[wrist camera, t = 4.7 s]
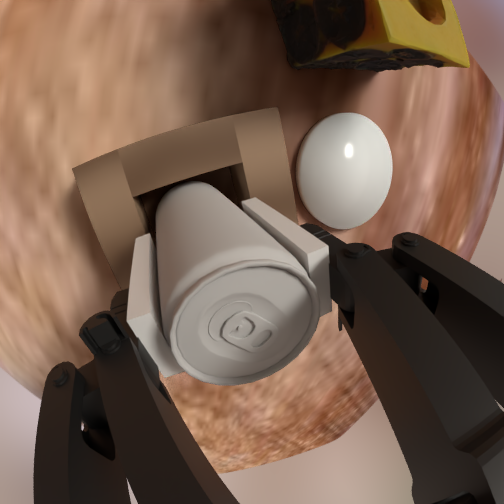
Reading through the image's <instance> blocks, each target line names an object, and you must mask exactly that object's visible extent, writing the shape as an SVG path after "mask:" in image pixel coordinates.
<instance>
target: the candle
mask: <svg viewBox="0 0 504 504" xmlns="http://www.w3.org/2000/svg"><path fill="white" fill-rule="evenodd" d="M271 3H272V8H273V10H274V13H275V15H276V17H277V20H276V21H277V23H278V24H279V29H280V32H281V33H282V36H283V39H284V42H285V45H286V49H287V60H288V62H289V63H290V65H291V67H292V68H294V69H297V70H299V69H301V68H312V69H316V68H330V69H342V68H345V69H356V70H373V71H376V72H381V71H384V70H398V69H402V68H404V67H407V68H410V67H412V66H424V65H431V66H435V67H437V68H440V67H462V68H469V66H470V63H469V58H468V53H467V49H466V45H465V41H464V38H463V34H462V31H461V27H460V24H459V21H458V17H457V14H456V11H455V9H454V6H453V4H452V1H451V0H271Z"/></svg>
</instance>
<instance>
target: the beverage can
mask: <svg viewBox="0 0 504 504" xmlns="http://www.w3.org/2000/svg"><path fill="white" fill-rule="evenodd" d="M156 246H157V266H158V281H159V294H160V305H161V315H162V324H163V332H164V336H165V338H166V340H167V342H168V344H169V346H170V349H171V352H172V354H173V356H174V358H175V360H176V362H177V364H178V365H179V366H180V367H181V368H182V369H183V370H184V371H185V372H186V373H188V374H189V375H190V376H192V377H194V378H196V379H198V380H200V381H202V382H206V383H210V384H215V385H240V384H246V383H251V382H254V381H257V380H260V379H263V378H265V377H268V376H270V375H272V374H274V373H275V372H277V371H279V370H281V369H282V368H284V367H285V366H286V365H288V364H289V363H290V362H291V361H293V360H294V359H295V358H296V357H297V356H298V355H299V354H300V353H301V352H302V351H303V349H304V348H305V347H306V346H307V345H308V343H309V341H310V340H311V338H312V336H313V334H314V333H315V331H316V328H317V325H318V321H319V318H320V298H319V295H318V292H317V289H316V286H315V285H314V284H313V282H312V281H311V280H310V279H309V277H308V274H307V272H306V271H305V269H304V268H303V267H302V266H301V264H300V263H299V262H298V261H297V259H296V258H295V257H294V256H293V255H292V254H291V253H290V252H288V251H287V250H286V249H285V248H284V247H283V246H282V245H281V244H279V243H278V242H277V241H276V240H275V239H274V238H273V237H272V236H270V235H269V234H268V233H267V232H266V231H265V230H264V229H262V228H261V227H260V226H259V225H258V224H257V223H256V222H254V221H253V220H252V219H251V218H250V217H249V216H248V215H246V214H245V213H244V212H243V211H242V210H241V209H239V208H238V207H237V206H236V205H235V204H234V203H232V202H231V201H230V200H229V199H228V198H226V197H225V196H224V195H223V194H222V193H221V192H219V191H218V190H217V189H216V188H214V187H213V186H211V185H210V184H207V183H204V182H200V181H188V182H184V183H180V184H178V185H176V186H175V187H173V188H171V189H170V190H169V191H168V192H167V193H166V194H165V195H164V196H163V197H162V199H161V201H160V202H159V204H158V208H157V211H156Z"/></svg>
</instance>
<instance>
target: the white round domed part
mask: <svg viewBox="0 0 504 504" xmlns="http://www.w3.org/2000/svg"><path fill="white" fill-rule="evenodd" d="M391 178H392V156H391V151H390V148H389V145H388V142H387V140H386V138H385V136H384V134H383V133H382V131H381V130H380V128H379V127H378V126H377V125H376V124H375V123H374V122H373V121H371V120H370V119H368V118H367V117H365V116H363V115H360V114H356V113H336V114H332V115H329V116H327V117H325V118H323V119H321V120H320V121H319V122H317V123H316V124H315V125H314V126H313V127H312V128H311V129H310V130H309V132H308V133H307V135H306V136H305V138H304V140H303V142H302V144H301V147H300V149H299V152H298V156H297V162H296V184H297V188H298V192H299V195H300V198H301V200H302V202H303V204H304V206H305V207H306V209H307V210H308V212H309V213H310V214H311V215H312V216H313V217H314V218H316V219H317V220H318V221H320V222H322V223H324V224H325V225H327V226H329V227H332V228H336V229H351V228H354V227H357V226H359V225H362V224H363V223H365V222H366V221H368V220H369V219H370V218H371V217H372V216H373V215H374V214H375V213H376V212H377V211H378V210H379V208H380V207H381V205H382V204H383V202H384V200H385V198H386V196H387V193H388V191H389V187H390V184H391Z"/></svg>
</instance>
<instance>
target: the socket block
mask: <svg viewBox="0 0 504 504" xmlns="http://www.w3.org/2000/svg"><path fill="white" fill-rule="evenodd" d="M227 166H229V167H230V171H231V175H232V180H233V184H234V188H235V192H236V196H237V201H238V205H239V209H241V210H242V211H243V212H244V210H243V206H242V201H245V200H248V199H251V198H255V197H256V198H257V199H259V200H260V201H262V202H263V203H265V204H267V205H268V206H270V207H271V208H273V209H274V210H276V211H277V212H279V213H280V214H282V215H284V216H285V217H287V218H288V219H290V220H291V221H293V222H294V223H296V224H297V225H298V218H297V211H296V204H295V198H294V192H293V186H292V180H291V174H290V168H289V162H288V157H287V151H286V146H285V140H284V135H283V130H282V125H281V120H280V115H279V110H278V107H273V108H267V109H261V110H255V111H250V112H245V113H240V114H235V115H230V116H226V117H221V118H217V119H213V120H208V121H204V122H201V123H197V124H193V125H189V126H186V127H182V128H179V129H175V130H172V131H169V132H165V133H162V134H159V135H156V136H153V137H150V138H147V139H144V140H141V141H138V142H135V143H133V144H130V145H127V146H125V147H122V148H119V149H117V150H114V151H112V152H109V153H107V154H104V155H102V156H99V157H97V158H95V159H92V160H90V161H88V162H86V163H83V164H81V165H79V166H77V167H75V168H73V169H72V170H73V173H74V176H75V179H76V182H77V185H78V188H79V191H80V194H81V197H82V200H83V202H84V205H85V208H86V211H87V213H88V216H89V218H90V221H91V223H92V226H93V228H94V231H95V233H96V236H97V238H98V240H99V243H100V245H101V247H102V250H103V252H104V254H105V256H106V258H107V261H108V263H109V265H110V267H111V269H112V271H113V273H114V275H115V277H116V279H117V281H118V283H119V285H120V287H121V289H122V290H124V289H127V288H129V286H130V277H131V269H132V261H133V254H134V247H135V240H136V238H138V237H141V236H143V235H146V234H149V233H150V235H151V238H152V240H153V243H154V245H155V248H156V250H157V246H156V239H155V237H154V234H153V231H152V229H151V226H150V223H149V220H148V218H147V215H146V212H145V209H144V206H143V203H142V200H141V197H140V194H143V193H145V192H148V191H151V190H154V189H157V188H160V187H162V186H165V185H168V184H171V183H174V182H177V181H180V180H184V179H187V178H190V177H193V176H196V175H199V174H203V173H206V172H209V171H213V170H216V169H220V168H223V167H227Z"/></svg>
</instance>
